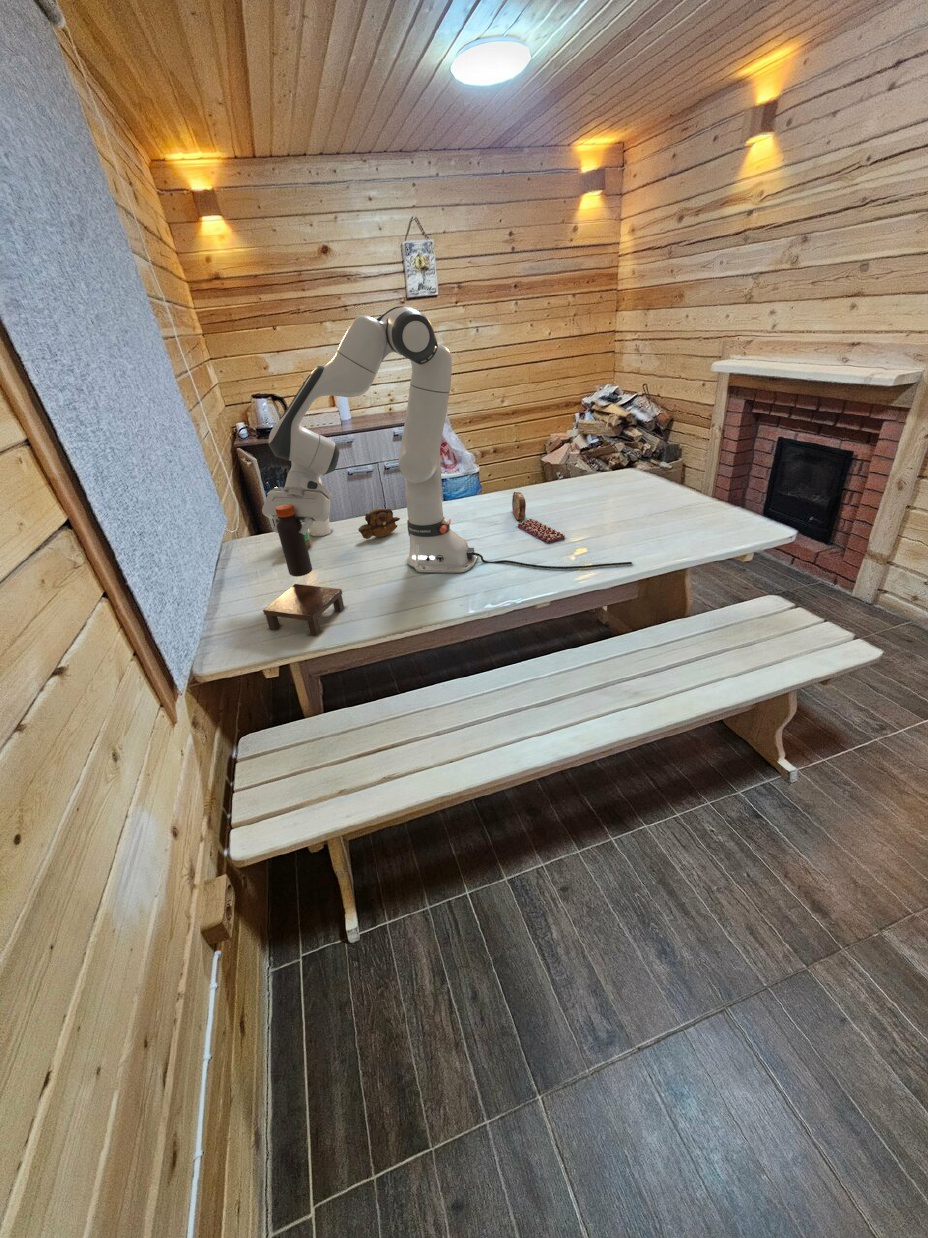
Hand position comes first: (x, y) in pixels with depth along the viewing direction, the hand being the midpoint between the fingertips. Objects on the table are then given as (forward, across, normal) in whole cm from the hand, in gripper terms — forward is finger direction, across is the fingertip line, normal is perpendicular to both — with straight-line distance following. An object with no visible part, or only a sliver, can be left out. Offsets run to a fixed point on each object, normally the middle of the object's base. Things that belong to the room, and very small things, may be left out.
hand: (289, 533), depth 147 cm
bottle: (-17, -20, +44) cm, 52 cm away
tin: (-38, +49, +66) cm, 91 cm away
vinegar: (+8, 0, +9) cm, 13 cm away
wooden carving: (-18, +4, +45) cm, 49 cm away
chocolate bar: (-27, +60, +56) cm, 87 cm away
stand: (+23, +10, +4) cm, 25 cm away
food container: (-7, -18, +33) cm, 39 cm away
